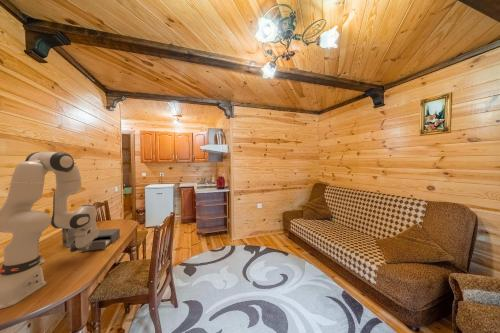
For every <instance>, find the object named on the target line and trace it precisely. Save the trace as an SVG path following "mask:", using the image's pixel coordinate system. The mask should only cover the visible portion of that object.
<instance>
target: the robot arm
mask: <svg viewBox="0 0 500 333" xmlns="http://www.w3.org/2000/svg"><path fill="white" fill-rule="evenodd" d="M49 172H53V174H54V175H55V184H56V187H55V190H54V192H53V199H52V200H53V201H52V204H53V205H52V215H50V214H49V213H47V212H44V211H41V210H32V208H33V206H34V205H35V203H36V202H38V201H39V200H40V199H41V198H42V197H43V193H44V192H43V191H44V186H45V185H44V184H45V178H46V177H45V176H46V174H47V173H49ZM9 185H10V186H9V190H8V194H7V197H6V200H5V202H4V203H3V205H2V207H1V208H0V233H6V234H9V233H10V234H12V238H11V240H10V242H9V243H8V244H6V245H5V246H4V247H3V264H2V266H1V267H0V310H1V309H5V308H8V307H11V306H13V305H16V304H17V303H19V302H21V301H22V300H24V299H25V298H28V296H30V295H32V294H34V293H35V292H36V291H38V290H39V289H41V288H42V287H45V285H47V281H46V280H45V278H44V277H45V276H44V273H43V271H44V270H43V268H42V266H41V264H40V265H39V263H40V255H39V254H38V253H40V251H39V249H40V248H39V244H40V239H41V236H42V234H43V232H44V231H46V230H47V229H48V228H50V226H52V227H53V228H54V229H62V228H67V229H77V228H78V230H77V231H76V232H75V236H76V238H75V245H76V248H83V247H84V246H85V248H86V251H88V250H87V249H89V248H91V244H92V240H94V239H95V238H96V237H98V235H99V231H98V230H99V227H98V226H97V225H98V224H97V221H96V219H97V209H96V206H95V205H94V204H93V205H92V204H83V205H80V207H79V208H78V209H77V210H76V211H74V212H70V211H68V198H69V197H70V196H73V195H75V194H76V193H78V192H79V191H80V190H81V188H82V177H81V173H80V169H79V167H78V165H77V164H76V163H75V160H74V158H73V156H72V155H71V154H69V153H66V152H62V151H59V152H57V151H49V150H48V151H35V152H31V153H30V154H28V155H27V157H26V158H25V160H24V161H20V162H18V164H17V165H16V166H15V168H14V171H13V173H12V175H11V181H10V184H9Z"/></svg>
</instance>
